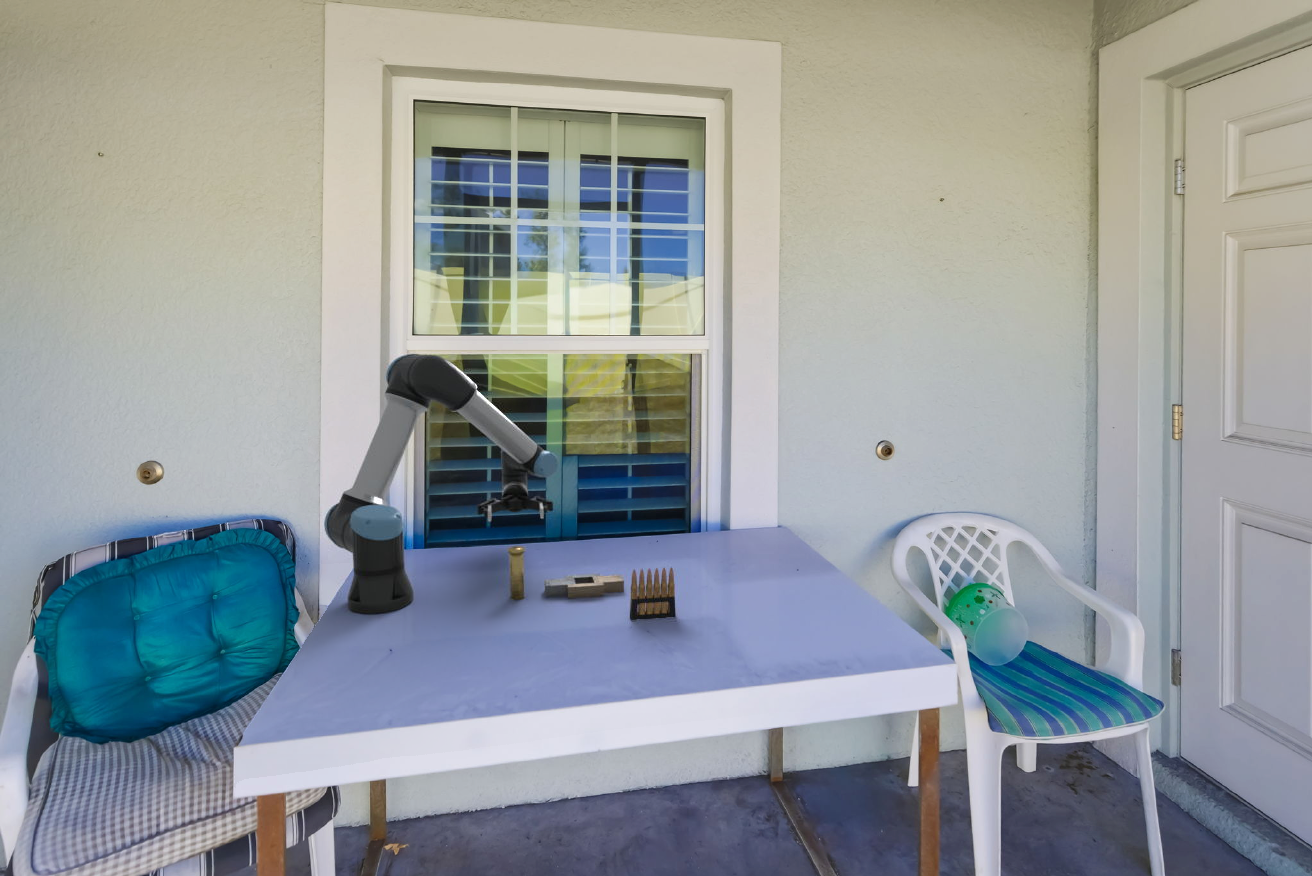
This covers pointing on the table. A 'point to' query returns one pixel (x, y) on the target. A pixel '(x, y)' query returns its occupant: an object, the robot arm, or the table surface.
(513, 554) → the link pin
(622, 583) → the chain joint
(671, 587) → the ammunition clip
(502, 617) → the table surface
